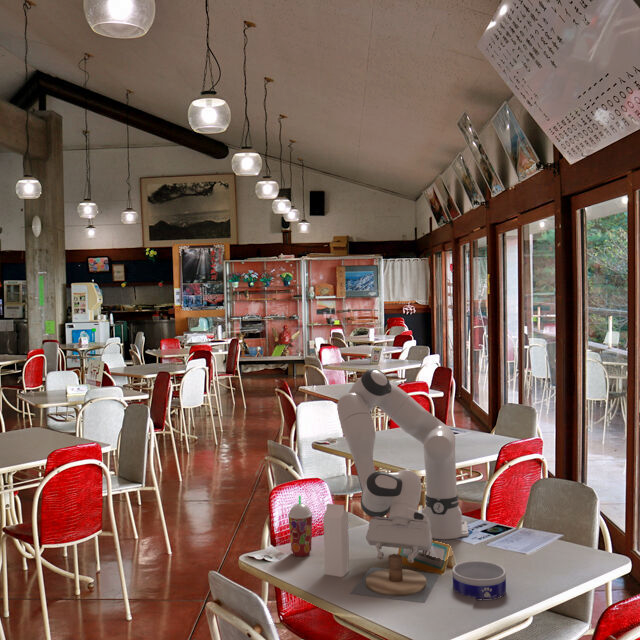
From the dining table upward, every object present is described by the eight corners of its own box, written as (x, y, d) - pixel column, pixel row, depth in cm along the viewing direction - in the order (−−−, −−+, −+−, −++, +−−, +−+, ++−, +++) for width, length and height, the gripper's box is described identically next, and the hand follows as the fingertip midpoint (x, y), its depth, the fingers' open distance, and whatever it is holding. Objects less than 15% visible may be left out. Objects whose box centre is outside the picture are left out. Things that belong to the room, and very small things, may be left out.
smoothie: (309, 548, 246) (307, 491, 246) (316, 556, 238) (315, 497, 238) (286, 551, 243) (284, 494, 243) (293, 559, 236) (291, 500, 235)
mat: (371, 569, 225) (371, 567, 225) (439, 576, 217) (439, 574, 217) (349, 595, 204) (349, 593, 204) (424, 604, 196) (424, 602, 196)
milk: (332, 569, 225) (330, 501, 225) (350, 572, 223) (347, 502, 223) (324, 576, 220) (322, 506, 220) (342, 578, 217) (340, 507, 217)
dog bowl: (469, 604, 196) (469, 583, 196) (443, 584, 211) (442, 564, 210) (516, 596, 201) (516, 575, 201) (487, 577, 215) (487, 557, 215)
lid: (375, 570, 222) (374, 544, 222) (431, 575, 216) (430, 549, 216) (358, 592, 205) (357, 564, 205) (419, 598, 199) (418, 570, 199)
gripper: (368, 510, 223) (359, 551, 214) (432, 516, 216) (426, 558, 207) (373, 520, 227) (364, 561, 218) (435, 526, 220) (429, 568, 211)
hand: (395, 560), depth 212 cm, fingers open, 8 cm apart
